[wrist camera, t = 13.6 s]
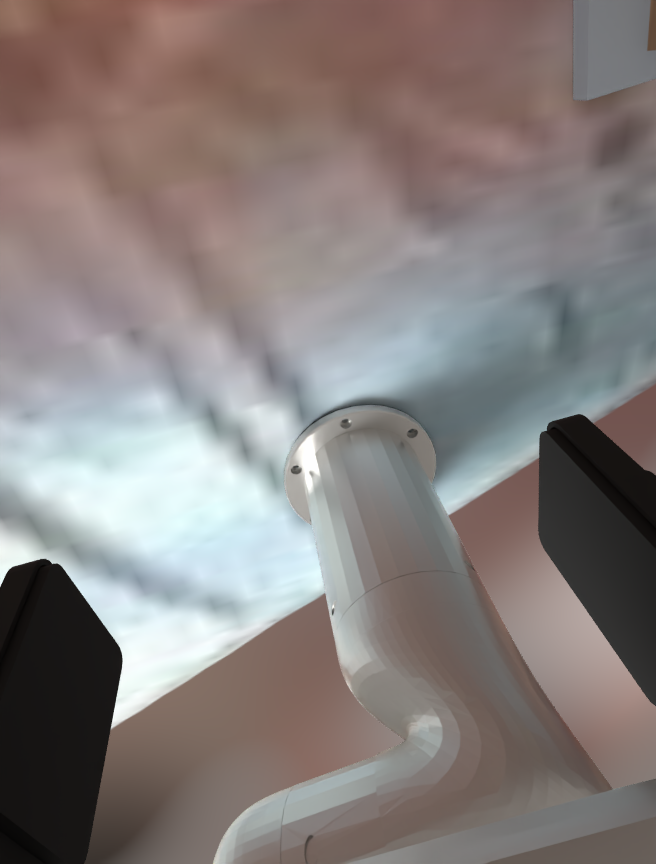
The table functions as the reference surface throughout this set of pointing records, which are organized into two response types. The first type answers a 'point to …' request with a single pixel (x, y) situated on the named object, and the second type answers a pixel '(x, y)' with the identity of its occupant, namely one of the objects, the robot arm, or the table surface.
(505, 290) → the table surface
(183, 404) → the table surface
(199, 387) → the table surface
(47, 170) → the table surface
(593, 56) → the pin board
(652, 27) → the sleeve
